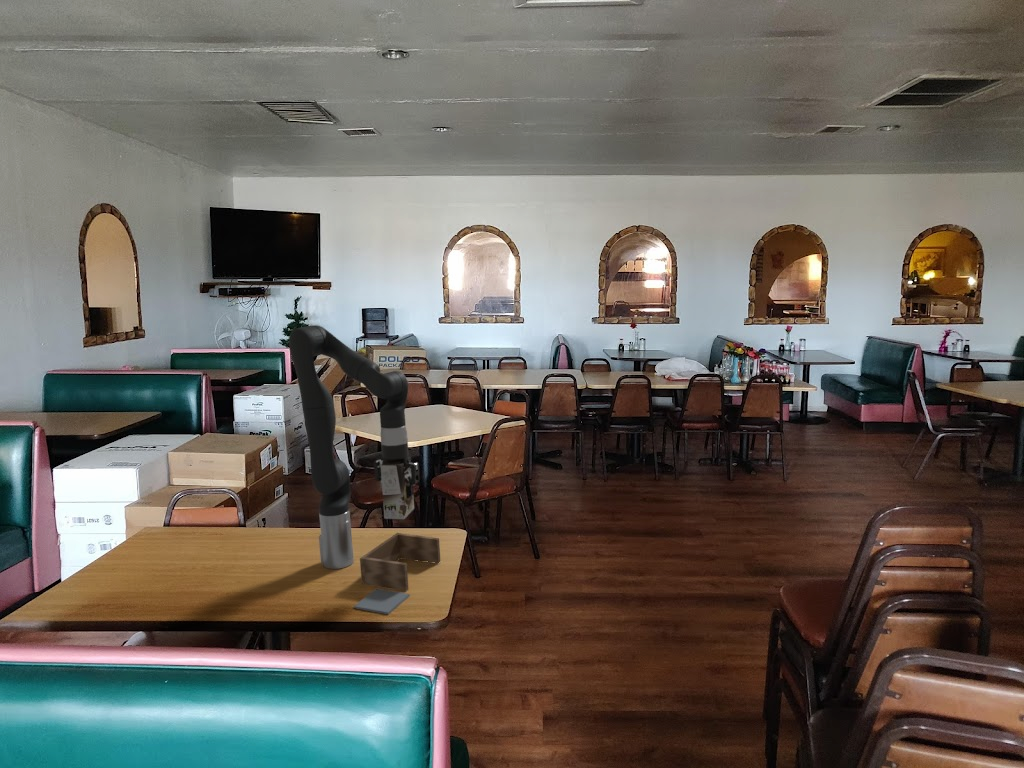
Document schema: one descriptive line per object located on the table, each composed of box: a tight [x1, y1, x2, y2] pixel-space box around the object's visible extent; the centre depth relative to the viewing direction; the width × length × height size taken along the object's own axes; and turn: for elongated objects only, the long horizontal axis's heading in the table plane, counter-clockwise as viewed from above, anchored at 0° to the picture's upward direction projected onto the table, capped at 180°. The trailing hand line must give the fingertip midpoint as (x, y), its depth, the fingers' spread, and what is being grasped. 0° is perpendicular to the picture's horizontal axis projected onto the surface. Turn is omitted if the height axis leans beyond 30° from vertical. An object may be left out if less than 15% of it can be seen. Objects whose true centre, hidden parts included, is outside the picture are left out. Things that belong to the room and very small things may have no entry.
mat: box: [353, 588, 411, 615], centre depth 192 cm, size 11×11×1 cm
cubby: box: [359, 532, 441, 592], centre depth 209 cm, size 15×20×8 cm
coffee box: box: [381, 456, 415, 520], centre depth 201 cm, size 9×6×16 cm
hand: (398, 496), depth 201 cm, fingers closed on coffee box, 7 cm apart
